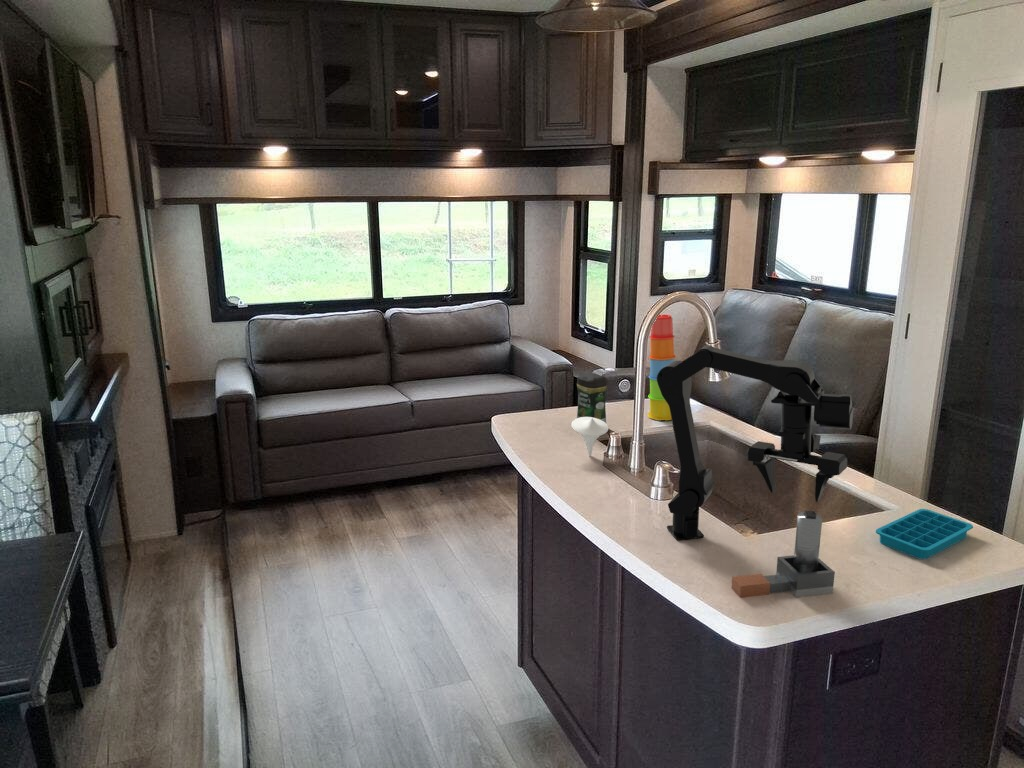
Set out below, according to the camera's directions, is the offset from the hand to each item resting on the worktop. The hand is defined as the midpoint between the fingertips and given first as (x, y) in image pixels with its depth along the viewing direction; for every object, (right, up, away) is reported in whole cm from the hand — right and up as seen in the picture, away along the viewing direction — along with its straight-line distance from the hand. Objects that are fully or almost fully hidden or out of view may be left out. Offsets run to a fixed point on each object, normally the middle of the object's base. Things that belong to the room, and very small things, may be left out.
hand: (794, 496), depth 154 cm
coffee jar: (-33, +9, +88) cm, 94 cm away
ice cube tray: (+32, -11, +9) cm, 35 cm away
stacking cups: (-7, +12, +99) cm, 100 cm away
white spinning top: (-36, +2, +64) cm, 73 cm away
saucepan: (-6, -16, -9) cm, 20 cm away
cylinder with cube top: (-1, -15, -9) cm, 17 cm away
